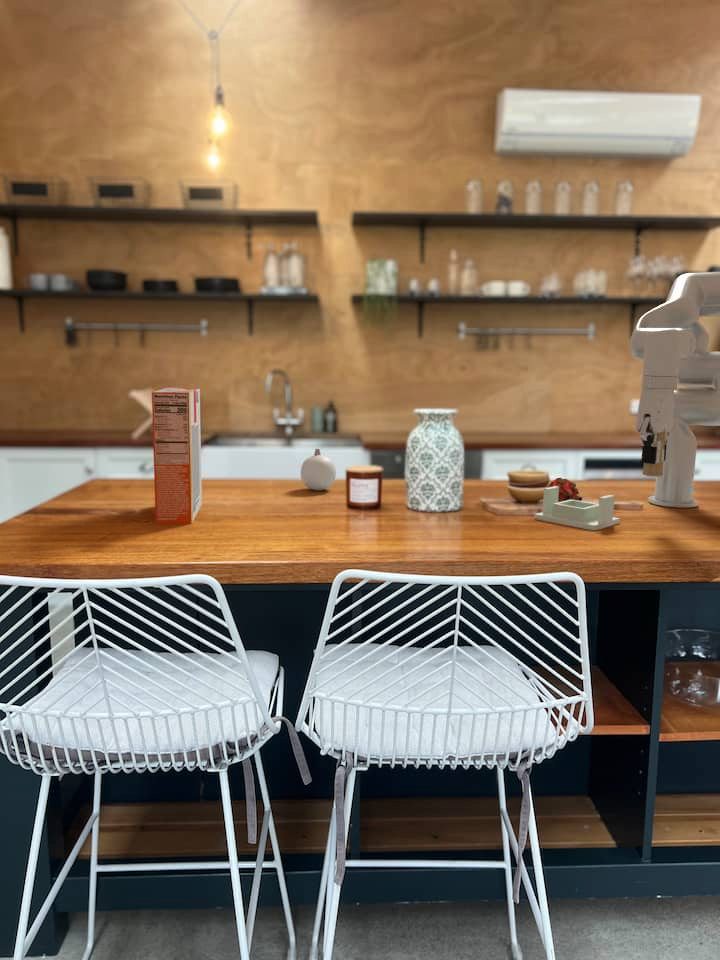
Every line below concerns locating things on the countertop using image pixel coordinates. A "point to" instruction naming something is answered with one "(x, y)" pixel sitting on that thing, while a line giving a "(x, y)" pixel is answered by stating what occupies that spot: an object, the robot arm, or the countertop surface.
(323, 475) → the ornament
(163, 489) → the orange cereal box
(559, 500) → the dragon fruit
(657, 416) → the robot arm
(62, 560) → the countertop surface
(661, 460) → the sprinkles bottle
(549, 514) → the caddy
